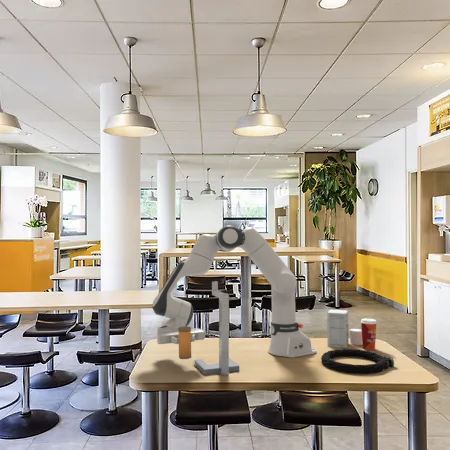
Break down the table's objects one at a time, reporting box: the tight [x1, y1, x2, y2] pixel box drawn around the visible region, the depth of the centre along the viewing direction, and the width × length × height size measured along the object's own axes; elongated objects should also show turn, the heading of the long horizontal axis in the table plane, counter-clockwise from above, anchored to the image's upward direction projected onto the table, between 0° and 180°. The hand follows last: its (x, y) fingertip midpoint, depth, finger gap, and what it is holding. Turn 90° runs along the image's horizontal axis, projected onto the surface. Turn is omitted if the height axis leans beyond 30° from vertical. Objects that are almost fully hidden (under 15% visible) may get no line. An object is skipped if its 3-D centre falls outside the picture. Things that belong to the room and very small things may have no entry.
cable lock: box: [320, 348, 395, 375], centre depth 194 cm, size 28×4×30 cm
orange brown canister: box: [178, 326, 192, 360], centre depth 184 cm, size 5×5×12 cm
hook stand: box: [211, 280, 230, 377], centre depth 186 cm, size 3×14×36 cm, turn 20°
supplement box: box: [326, 309, 350, 349], centre depth 226 cm, size 10×9×17 cm
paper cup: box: [360, 317, 378, 351], centre depth 219 cm, size 8×8×14 cm
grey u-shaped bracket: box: [194, 357, 240, 375], centre depth 189 cm, size 15×14×2 cm
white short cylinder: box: [348, 328, 363, 346], centre depth 229 cm, size 7×7×7 cm
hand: (185, 340), depth 183 cm, fingers closed on orange brown canister, 5 cm apart
